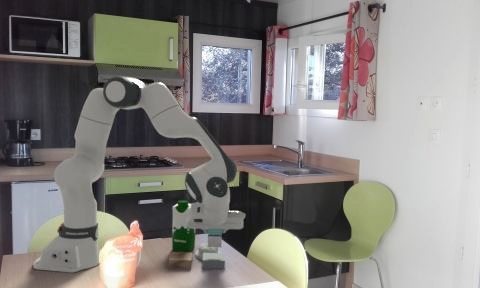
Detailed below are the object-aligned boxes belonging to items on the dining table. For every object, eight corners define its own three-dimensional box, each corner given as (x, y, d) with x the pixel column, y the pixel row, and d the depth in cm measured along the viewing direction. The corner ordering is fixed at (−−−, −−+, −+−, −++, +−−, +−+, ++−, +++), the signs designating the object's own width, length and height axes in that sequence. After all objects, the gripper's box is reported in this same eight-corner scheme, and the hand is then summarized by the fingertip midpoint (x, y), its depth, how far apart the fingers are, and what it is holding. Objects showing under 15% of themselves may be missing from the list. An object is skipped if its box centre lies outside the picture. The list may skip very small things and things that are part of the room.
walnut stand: (168, 268, 154) (168, 259, 154) (170, 259, 162) (170, 252, 162) (191, 268, 155) (191, 260, 155) (192, 260, 163) (192, 252, 163)
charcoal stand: (202, 268, 155) (202, 260, 155) (202, 260, 163) (203, 252, 163) (224, 268, 156) (224, 260, 155) (224, 260, 164) (224, 253, 163)
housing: (207, 247, 156) (208, 224, 156) (207, 243, 161) (208, 220, 160) (221, 247, 157) (222, 224, 156) (221, 243, 161) (221, 220, 160)
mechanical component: (191, 259, 164) (217, 262, 162) (192, 248, 164) (217, 251, 162) (199, 251, 174) (223, 253, 172) (199, 240, 174) (223, 242, 172)
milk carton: (169, 250, 172) (170, 201, 170) (177, 243, 181) (178, 196, 179) (190, 253, 170) (191, 203, 168) (197, 246, 179) (199, 198, 177)
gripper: (245, 204, 151) (242, 223, 162) (186, 203, 150) (187, 223, 160) (246, 220, 147) (243, 239, 158) (185, 219, 146) (186, 238, 156)
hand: (214, 231), depth 159 cm, fingers closed on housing, 5 cm apart
